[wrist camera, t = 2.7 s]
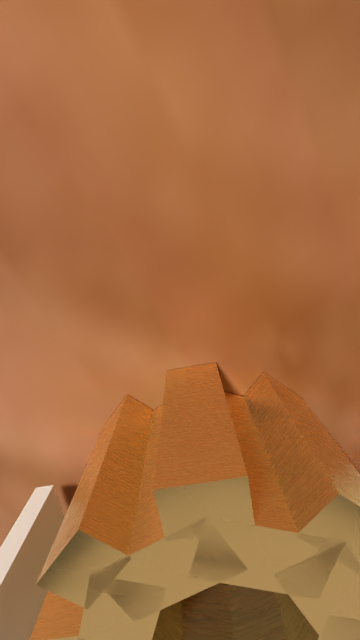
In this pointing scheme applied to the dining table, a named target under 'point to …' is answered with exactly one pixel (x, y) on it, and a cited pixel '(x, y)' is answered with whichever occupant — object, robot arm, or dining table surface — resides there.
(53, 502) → the robot arm
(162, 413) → the brass gear
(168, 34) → the dining table surface
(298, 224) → the dining table surface
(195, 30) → the dining table surface
